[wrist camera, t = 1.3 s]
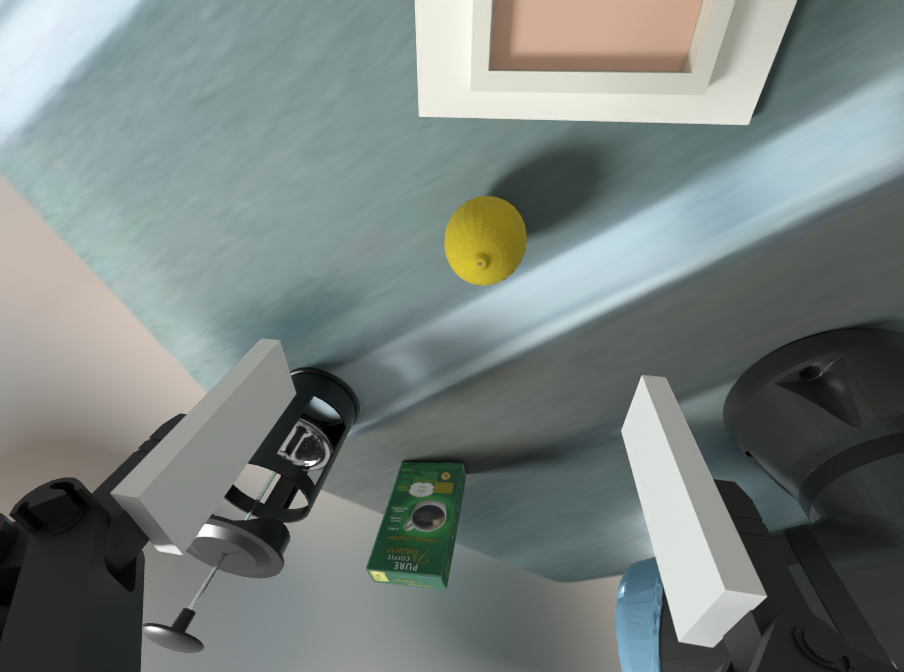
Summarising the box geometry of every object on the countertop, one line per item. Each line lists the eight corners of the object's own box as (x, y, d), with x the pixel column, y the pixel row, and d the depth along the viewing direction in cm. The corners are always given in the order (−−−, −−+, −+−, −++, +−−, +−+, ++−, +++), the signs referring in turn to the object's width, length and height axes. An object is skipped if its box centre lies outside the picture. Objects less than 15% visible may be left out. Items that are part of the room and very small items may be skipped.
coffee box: (404, 474, 49) (372, 586, 39) (399, 460, 48) (363, 571, 37) (466, 475, 48) (450, 593, 37) (462, 460, 46) (444, 578, 35)
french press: (277, 353, 41) (67, 593, 22) (363, 376, 41) (226, 636, 22) (282, 426, 48) (126, 656, 29) (356, 445, 48) (247, 689, 29)
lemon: (520, 176, 27) (519, 209, 21) (530, 249, 30) (532, 298, 24) (446, 192, 29) (423, 228, 22) (462, 260, 32) (446, 310, 25)
